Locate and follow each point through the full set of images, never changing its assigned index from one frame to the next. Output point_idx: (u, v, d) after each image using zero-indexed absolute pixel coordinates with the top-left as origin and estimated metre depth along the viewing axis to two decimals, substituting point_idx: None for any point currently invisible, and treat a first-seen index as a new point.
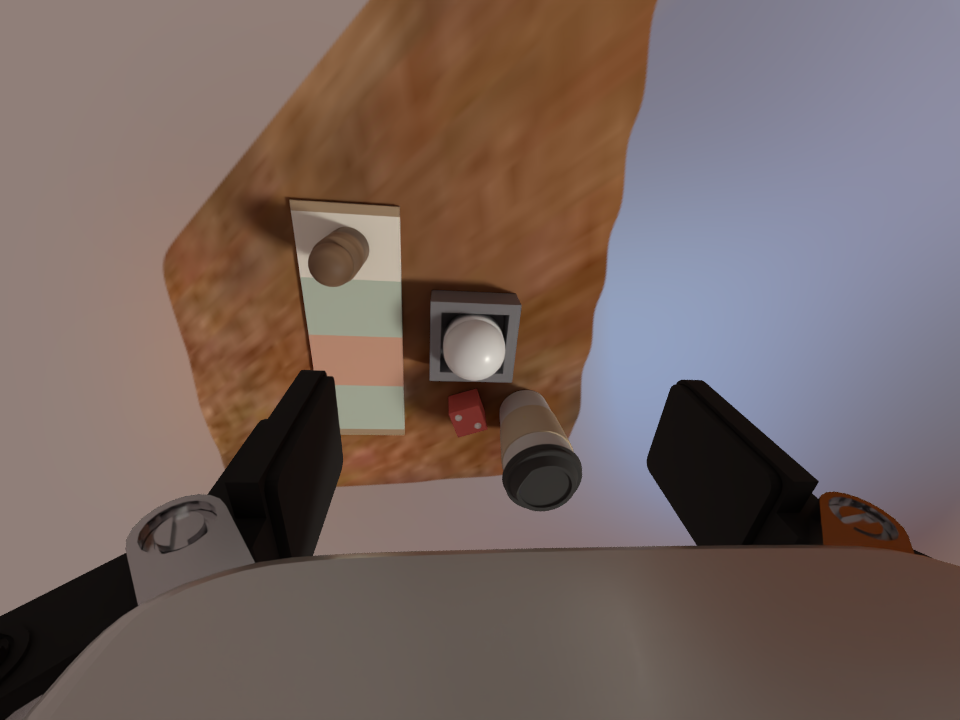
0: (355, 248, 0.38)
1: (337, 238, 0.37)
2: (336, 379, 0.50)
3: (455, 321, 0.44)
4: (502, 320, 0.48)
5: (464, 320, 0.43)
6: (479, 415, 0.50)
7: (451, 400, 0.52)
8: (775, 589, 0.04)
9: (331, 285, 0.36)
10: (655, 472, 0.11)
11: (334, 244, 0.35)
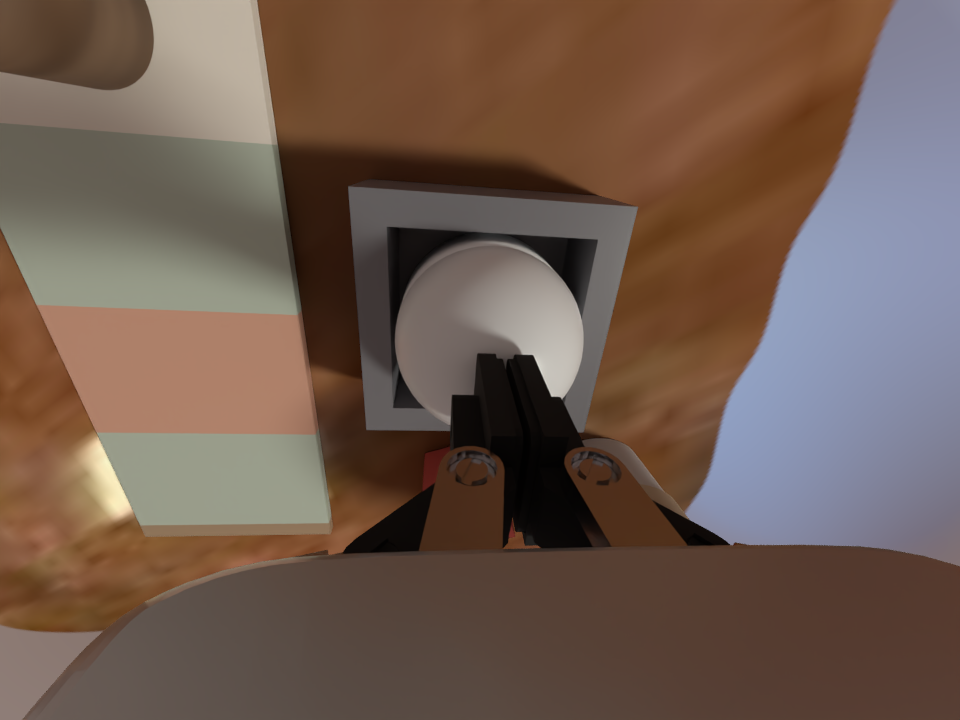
0: None
1: None
2: (145, 419, 0.20)
3: (432, 256, 0.15)
4: (559, 270, 0.19)
5: (459, 248, 0.14)
6: None
7: (431, 464, 0.23)
8: (774, 588, 0.04)
9: None
10: None
11: None
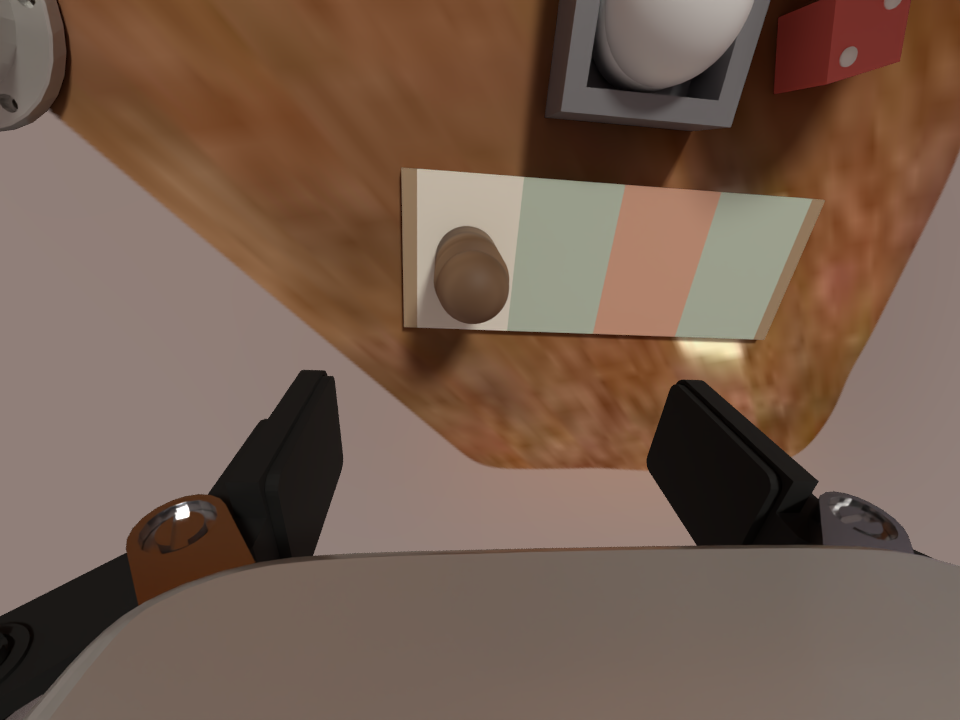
0: (451, 245, 0.23)
1: (434, 272, 0.23)
2: (674, 305, 0.31)
3: (602, 58, 0.22)
4: None
5: (602, 31, 0.21)
6: None
7: (787, 83, 0.24)
8: (774, 588, 0.04)
9: (504, 293, 0.21)
10: (655, 472, 0.11)
11: (438, 278, 0.21)
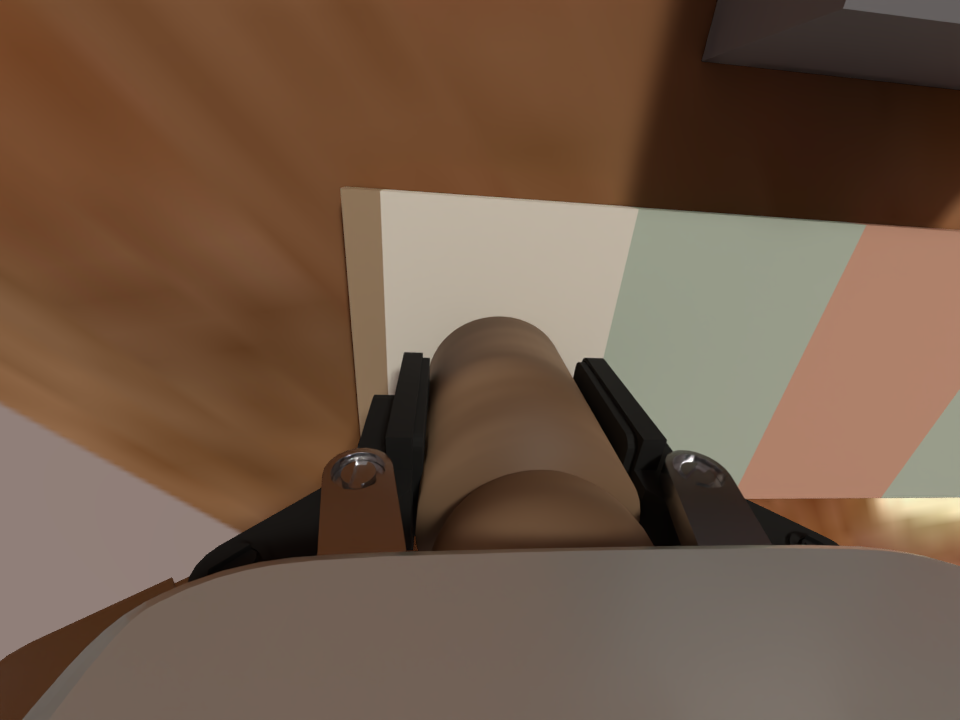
0: (469, 432, 0.07)
1: (419, 508, 0.08)
2: (896, 450, 0.16)
3: None
4: None
5: None
6: None
7: None
8: (774, 589, 0.04)
9: None
10: None
11: None
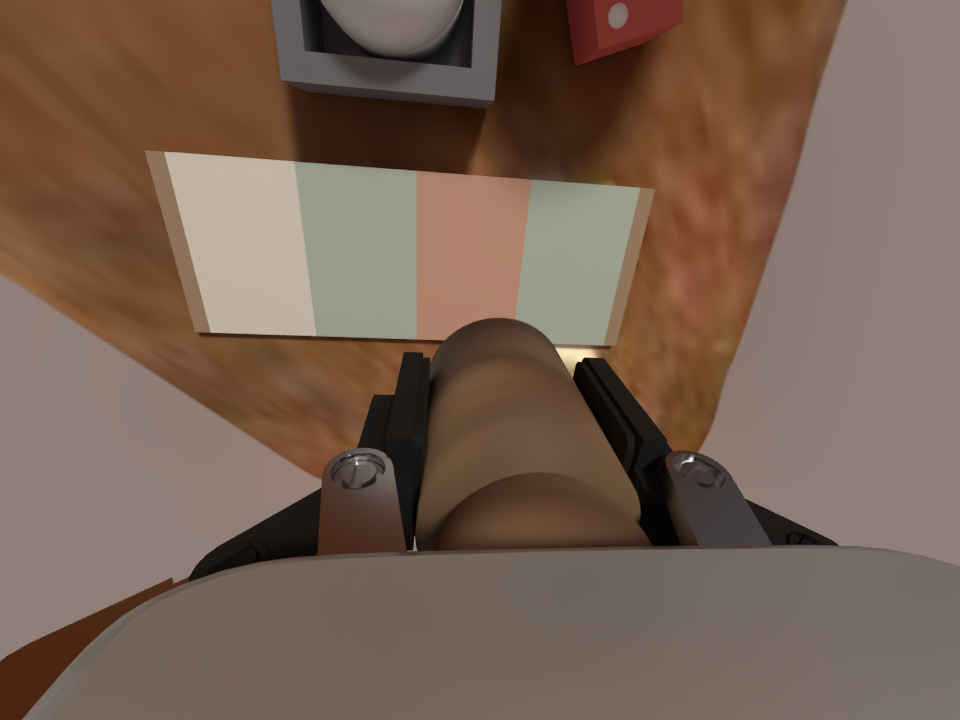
0: (469, 435, 0.07)
1: (419, 510, 0.08)
2: (504, 308, 0.28)
3: None
4: None
5: None
6: None
7: (579, 52, 0.21)
8: (774, 588, 0.04)
9: None
10: None
11: None
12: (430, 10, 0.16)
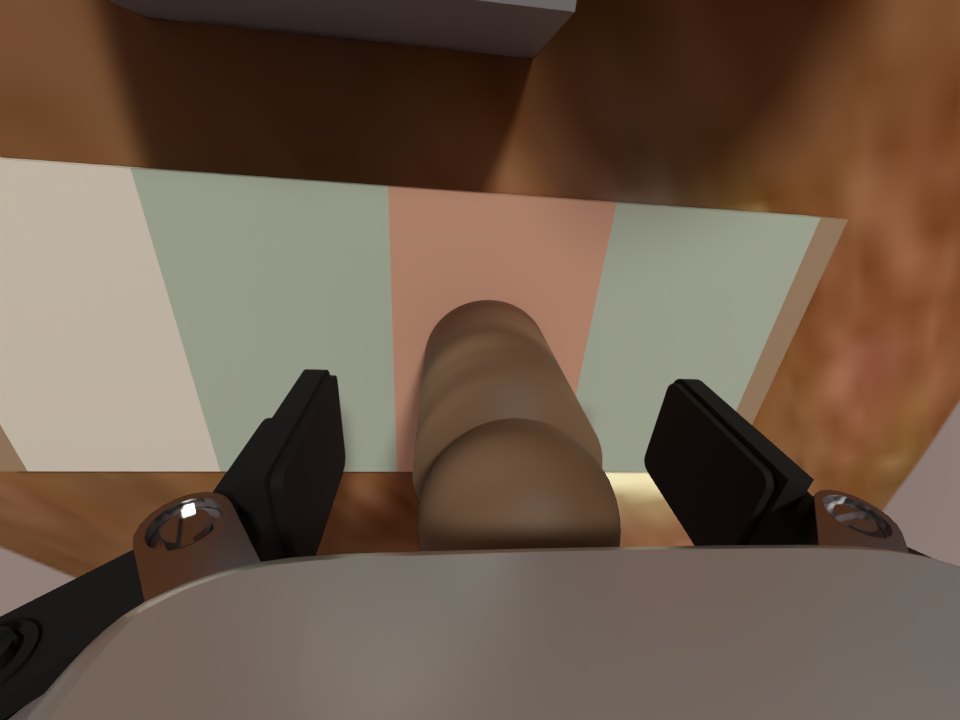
0: (458, 389, 0.09)
1: None
2: None
3: None
4: None
5: None
6: None
7: None
8: (774, 589, 0.04)
9: None
10: (652, 471, 0.11)
11: (421, 505, 0.08)
12: None
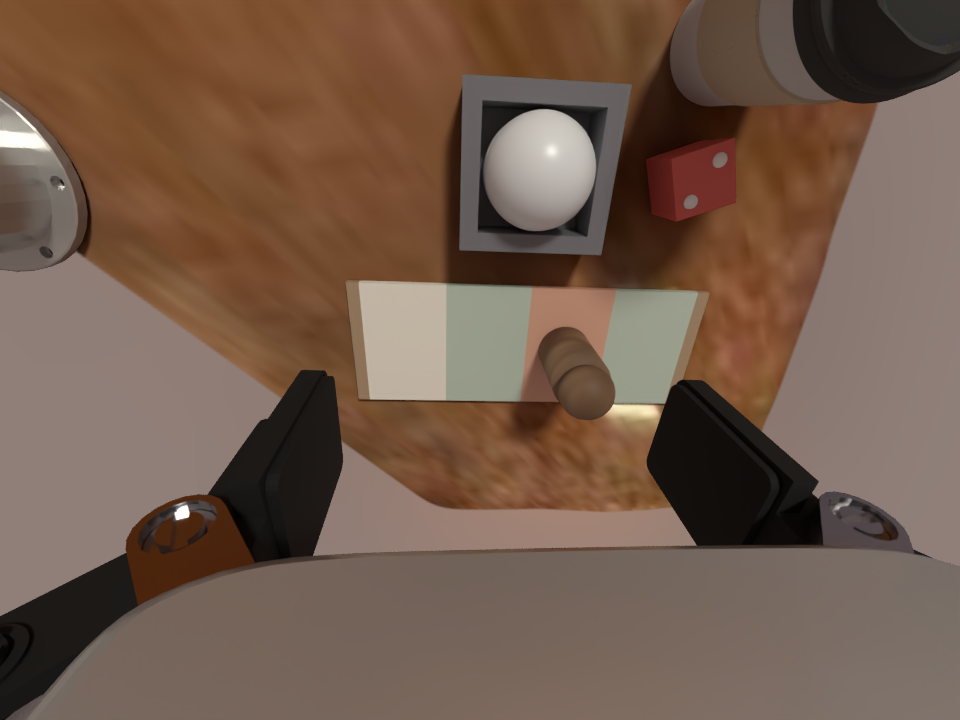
0: (566, 357, 0.29)
1: (553, 377, 0.29)
2: None
3: None
4: (511, 111, 0.27)
5: (486, 192, 0.26)
6: (696, 157, 0.25)
7: (657, 210, 0.29)
8: (775, 588, 0.04)
9: (613, 399, 0.27)
10: (655, 472, 0.11)
11: (561, 386, 0.28)
12: (569, 216, 0.25)
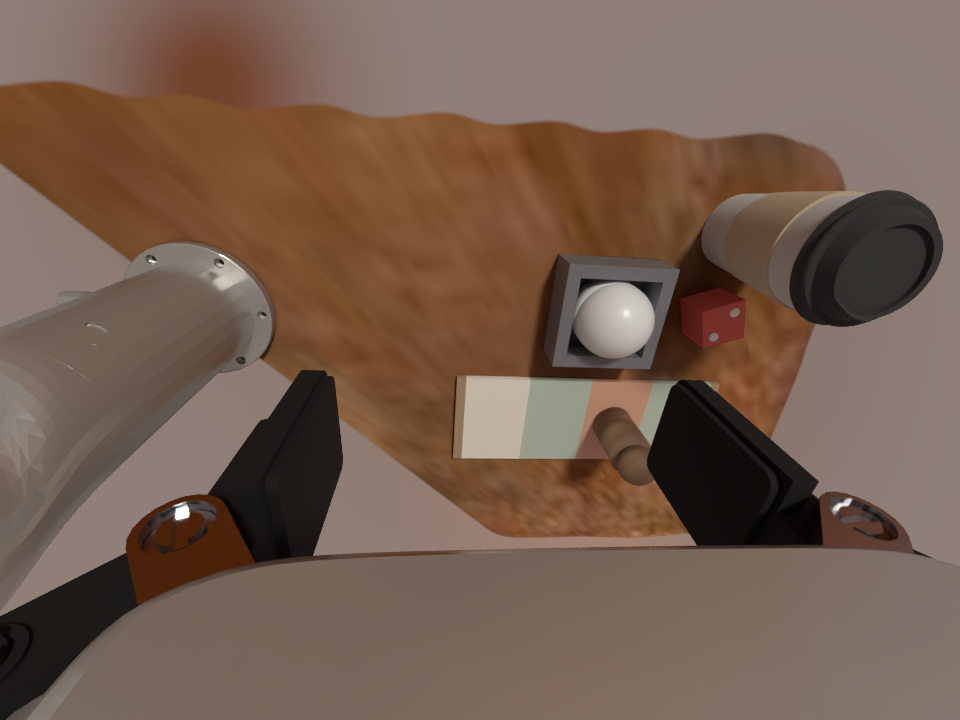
0: (622, 438, 0.41)
1: (612, 452, 0.41)
2: None
3: None
4: None
5: (574, 329, 0.37)
6: (719, 311, 0.37)
7: (687, 333, 0.41)
8: (774, 589, 0.04)
9: None
10: (655, 472, 0.11)
11: (620, 461, 0.39)
12: None
